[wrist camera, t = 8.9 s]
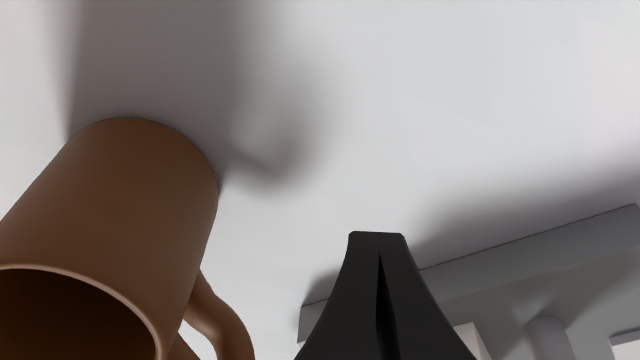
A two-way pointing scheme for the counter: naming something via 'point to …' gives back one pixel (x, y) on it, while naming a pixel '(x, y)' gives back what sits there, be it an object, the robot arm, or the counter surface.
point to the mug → (114, 252)
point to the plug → (472, 340)
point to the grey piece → (544, 292)
